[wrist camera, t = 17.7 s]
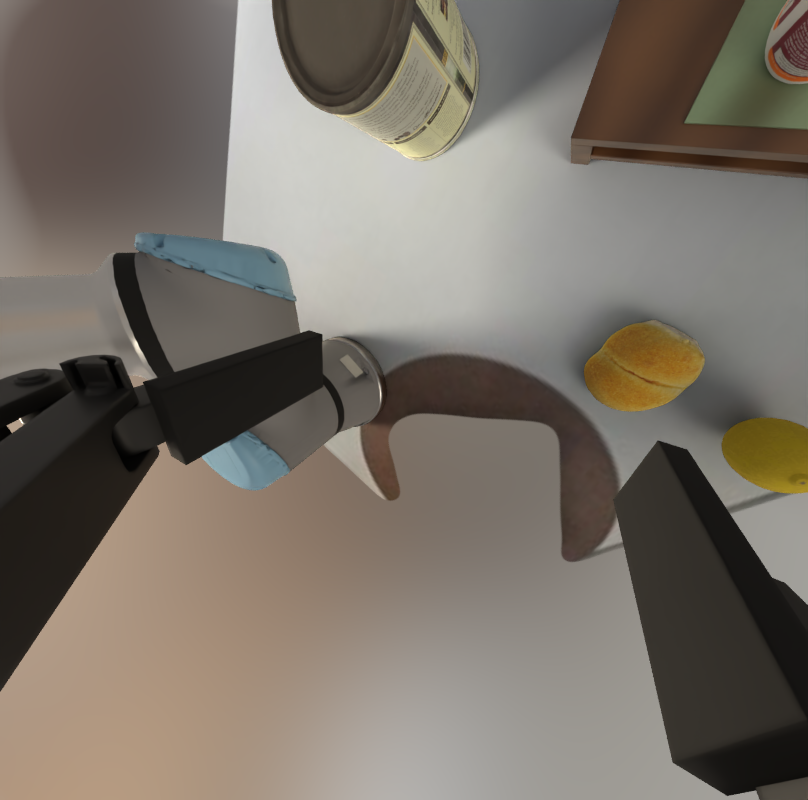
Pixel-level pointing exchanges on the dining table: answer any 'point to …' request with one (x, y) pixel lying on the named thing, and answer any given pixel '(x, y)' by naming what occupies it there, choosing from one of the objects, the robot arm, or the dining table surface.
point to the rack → (693, 91)
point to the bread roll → (643, 366)
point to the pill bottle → (789, 44)
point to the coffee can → (384, 67)
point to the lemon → (769, 453)
